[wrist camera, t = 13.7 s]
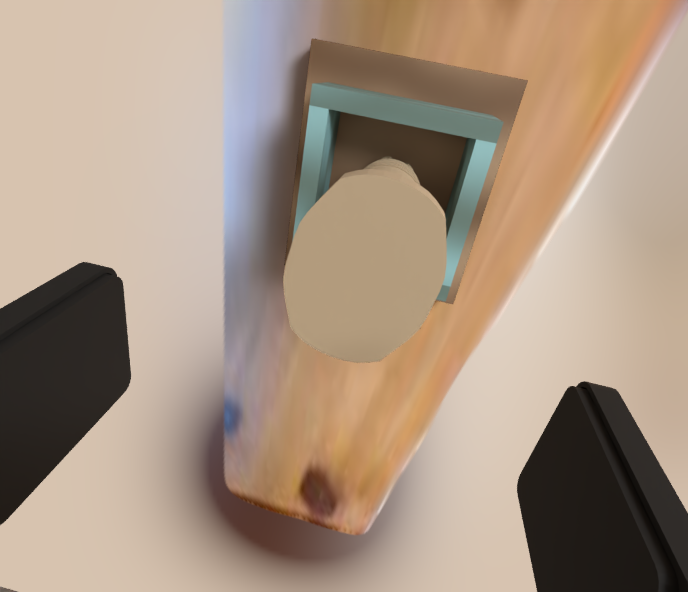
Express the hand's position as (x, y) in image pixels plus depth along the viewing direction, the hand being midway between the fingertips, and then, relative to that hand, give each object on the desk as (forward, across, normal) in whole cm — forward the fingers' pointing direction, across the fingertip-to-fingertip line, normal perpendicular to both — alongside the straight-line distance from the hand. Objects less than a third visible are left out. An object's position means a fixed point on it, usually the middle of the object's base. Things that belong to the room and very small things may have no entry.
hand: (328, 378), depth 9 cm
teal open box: (+22, 0, +1) cm, 22 cm away
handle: (+20, 0, +1) cm, 20 cm away
